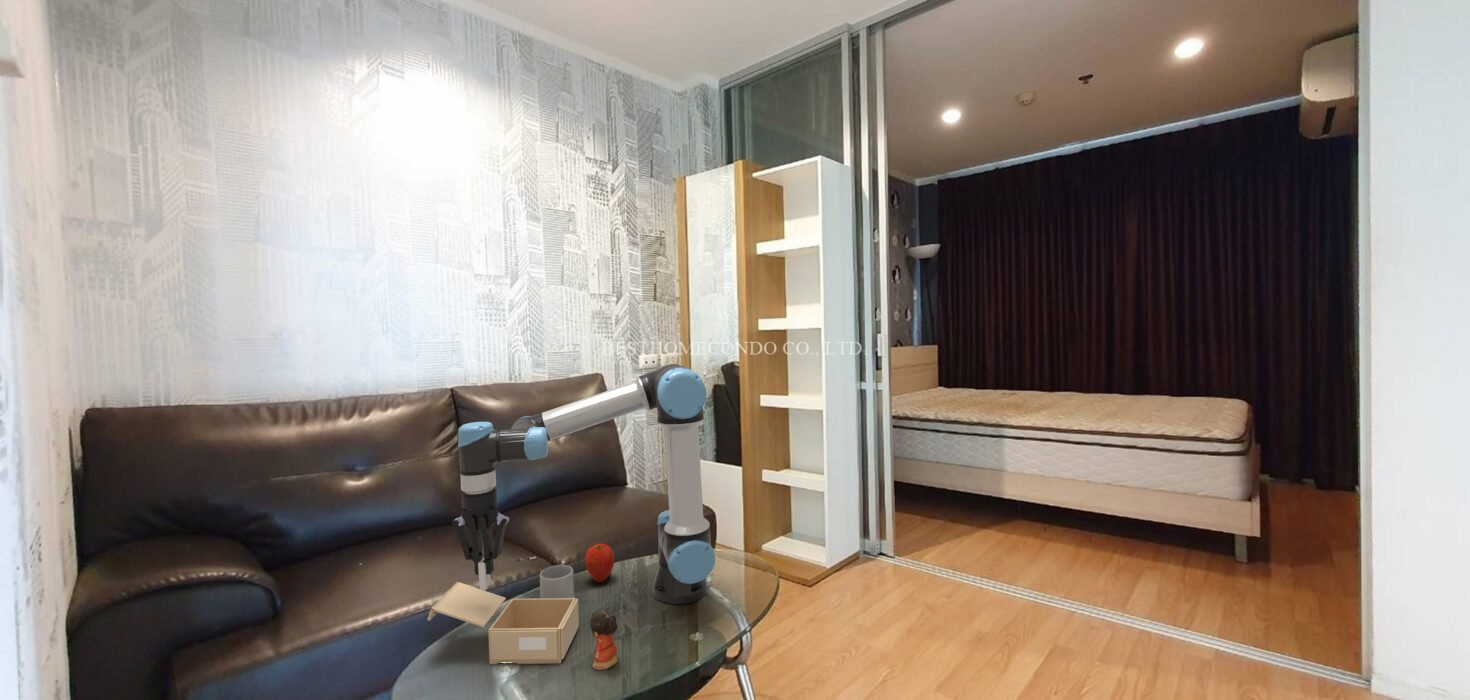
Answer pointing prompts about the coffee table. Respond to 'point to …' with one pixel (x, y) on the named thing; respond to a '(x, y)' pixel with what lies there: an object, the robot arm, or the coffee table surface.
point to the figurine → (604, 639)
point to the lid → (467, 604)
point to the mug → (557, 582)
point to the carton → (533, 631)
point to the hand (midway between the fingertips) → (485, 586)
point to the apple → (599, 561)
